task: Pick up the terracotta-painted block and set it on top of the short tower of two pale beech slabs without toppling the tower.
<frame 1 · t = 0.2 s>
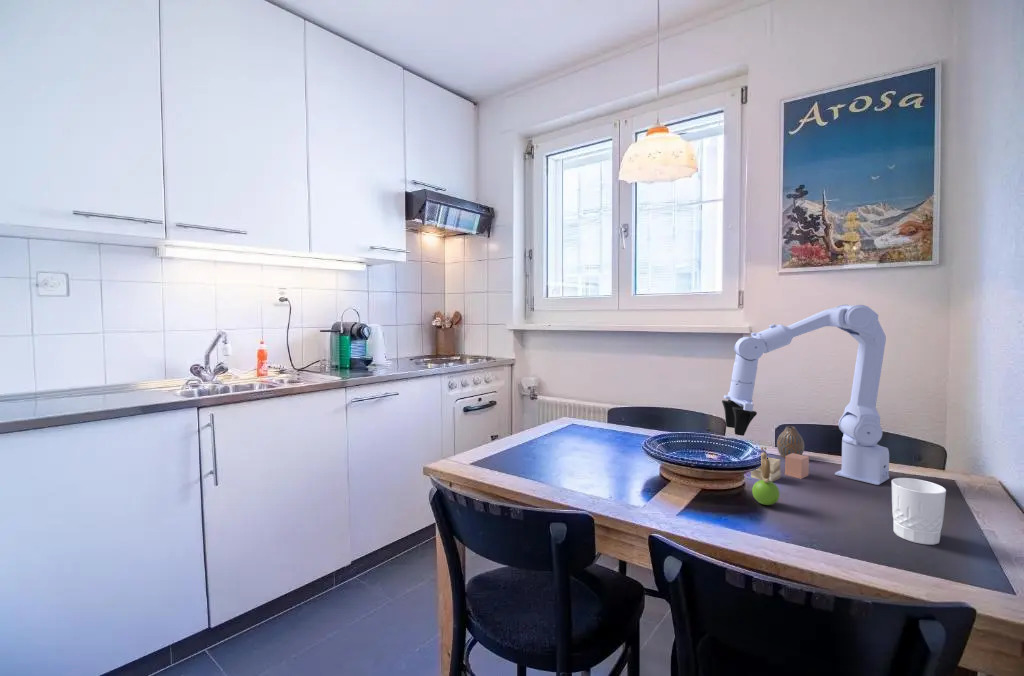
hand: (734, 430, 129), 11 cm above the table, tool pointing down, fingers open, 7 cm apart
tower base: (765, 478, 123), on the table, touching tower top
vase: (790, 457, 139), on the table
block: (796, 475, 124), on the table
snail figurine: (765, 504, 107), on the table
white cup: (916, 537, 91), on the table
tower top: (766, 469, 123), point 2 cm above the table, touching tower base
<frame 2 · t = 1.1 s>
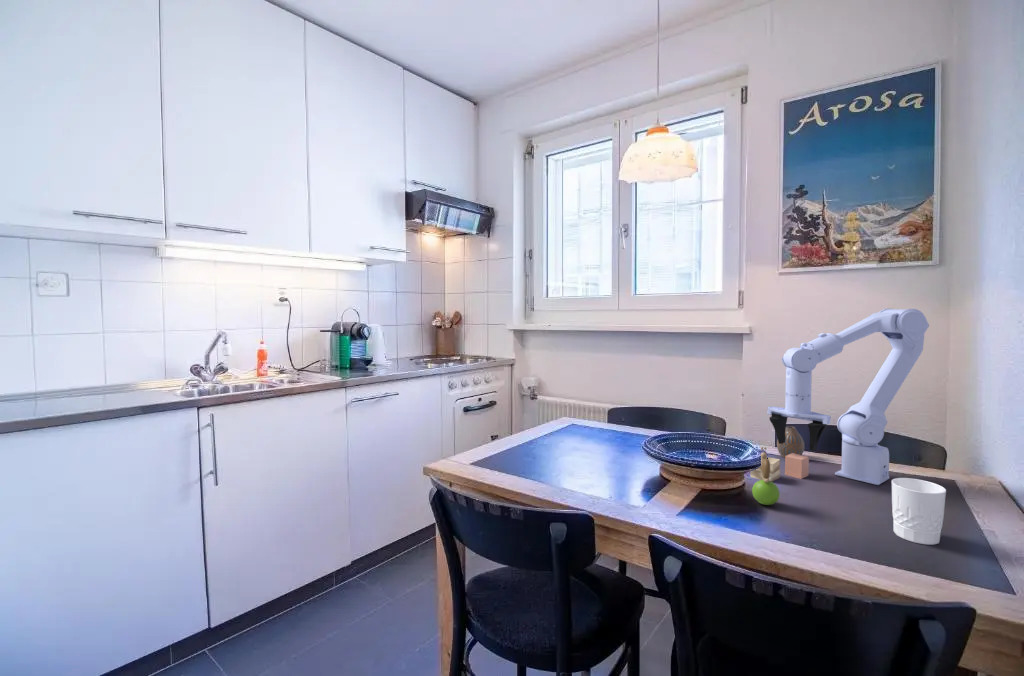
hand: (797, 446, 124), 8 cm above the table, tool pointing down, fingers open, 7 cm apart
tower base: (765, 478, 123), on the table
tower top: (765, 469, 123), point 2 cm above the table
everything else where it was.
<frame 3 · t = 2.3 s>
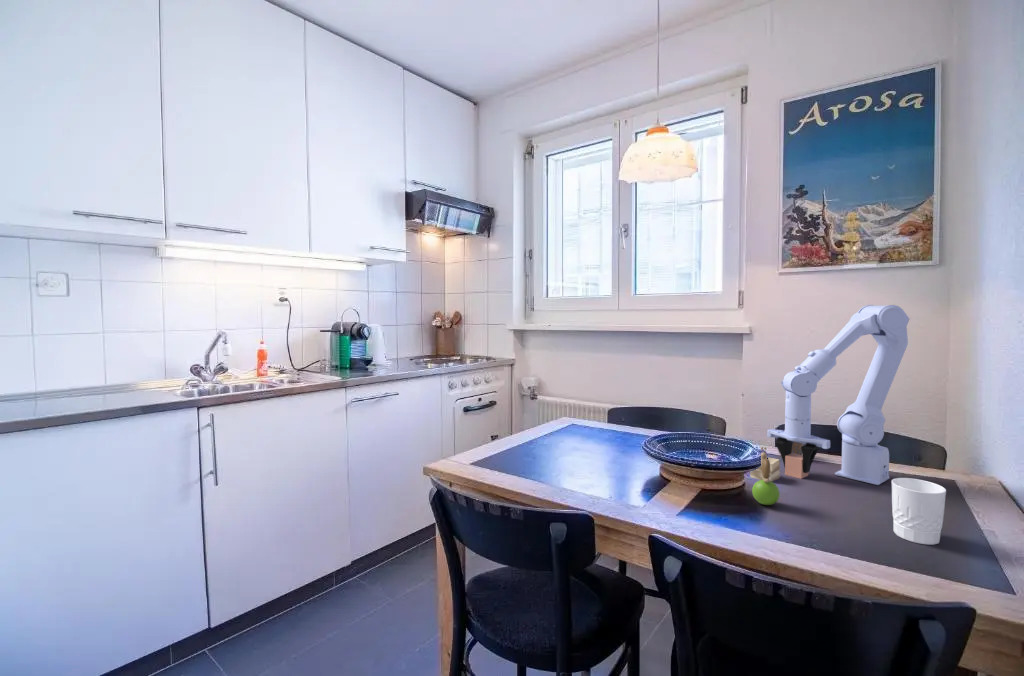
hand: (796, 469, 124), 1 cm above the table, tool pointing down, fingers closed on block, 4 cm apart
tower base: (764, 478, 123), on the table, touching tower top
block: (796, 474, 124), on the table, touching gripper
tower top: (765, 469, 123), point 2 cm above the table, touching tower base
everything else where it was.
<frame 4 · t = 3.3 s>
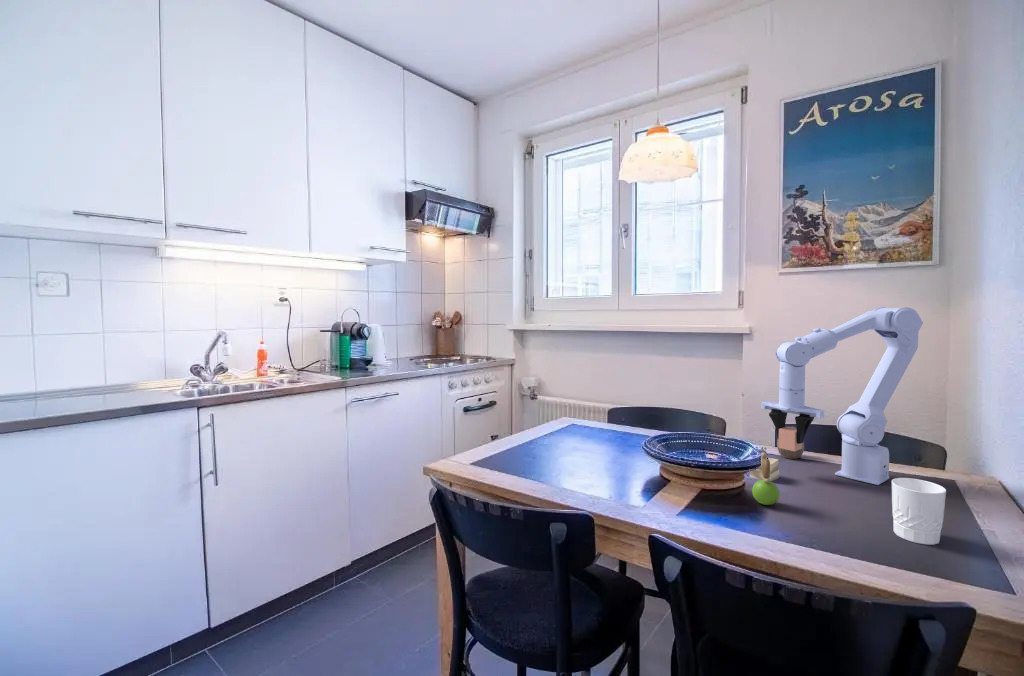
hand: (790, 440, 124), 9 cm above the table, tool pointing down, fingers closed on block, 4 cm apart
block: (790, 448, 124), point 7 cm above the table, touching gripper
everything else where it was.
when the fingers open (7 cm above the table, at t = 4.4 s): block stays where it is, resting on tower top.
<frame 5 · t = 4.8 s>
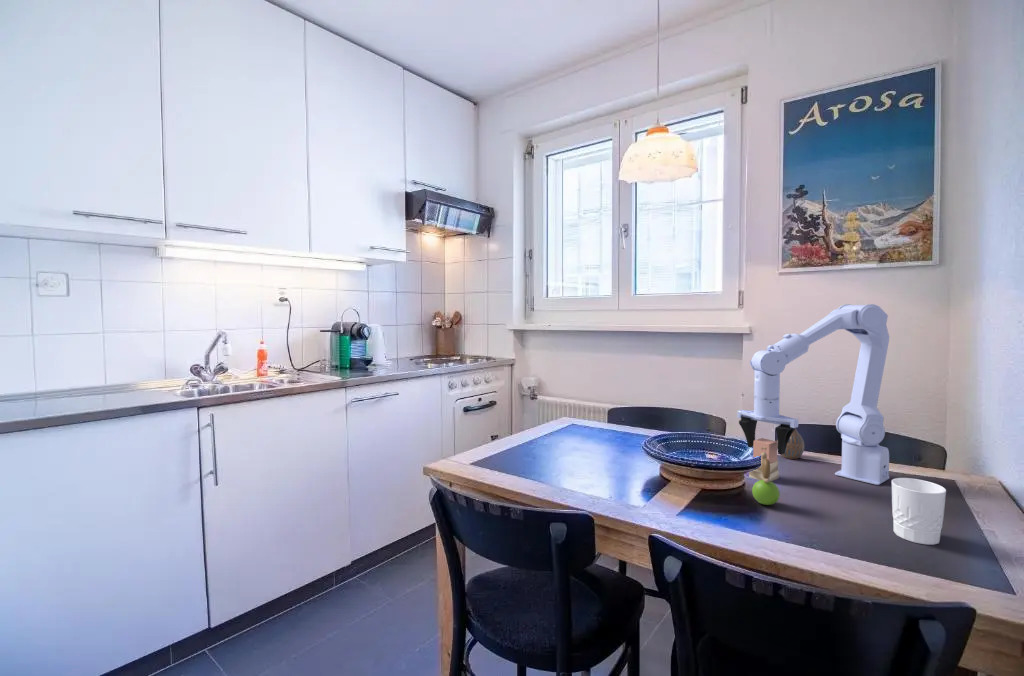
hand: (765, 450, 123), 7 cm above the table, tool pointing down, fingers open, 7 cm apart
block: (765, 460, 123), point 5 cm above the table, touching tower top
tower top: (763, 469, 123), point 2 cm above the table, touching block, tower base
everything else where it was.
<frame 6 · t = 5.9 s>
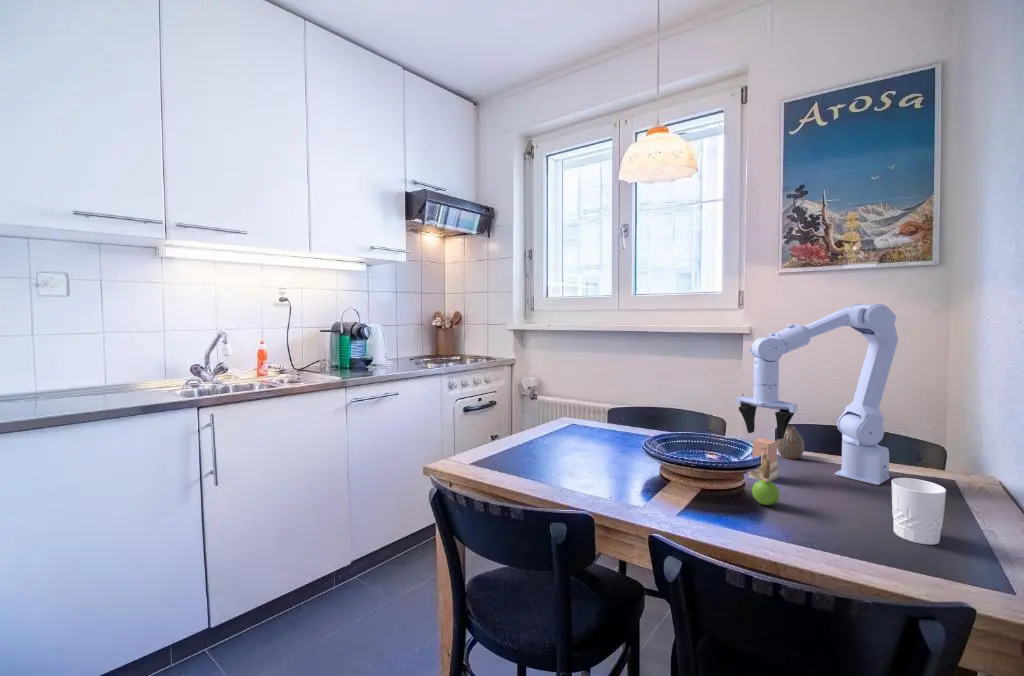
hand: (765, 435, 125), 10 cm above the table, tool pointing down, fingers open, 7 cm apart
nothing on the table moved.
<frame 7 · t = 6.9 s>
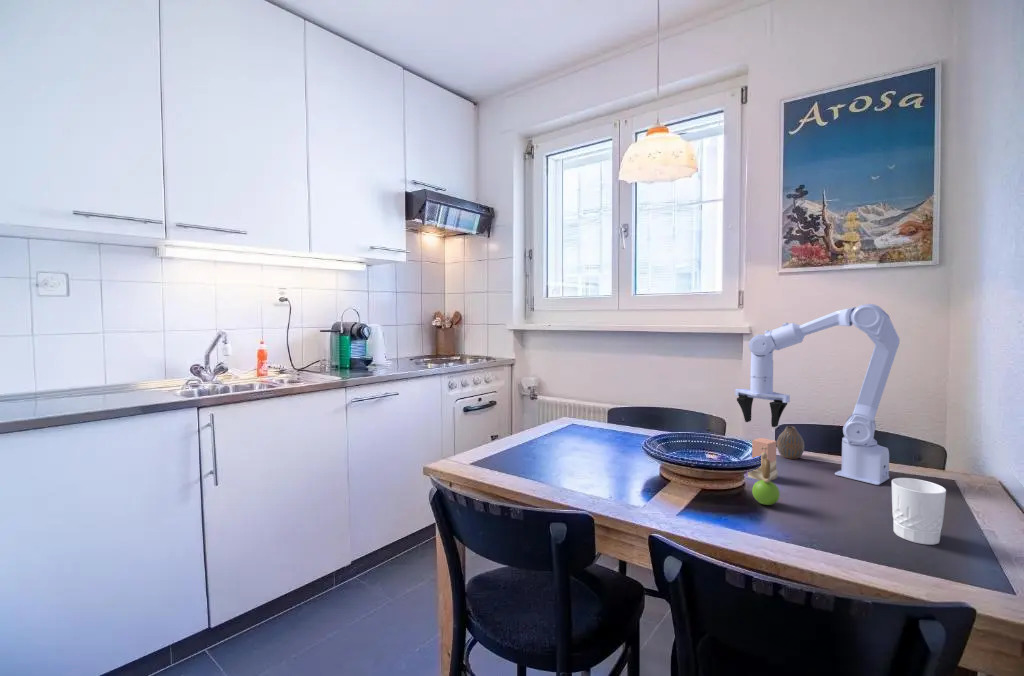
hand: (761, 423, 136), 10 cm above the table, tool pointing down, fingers open, 7 cm apart
block: (764, 459, 123), point 5 cm above the table
tower top: (762, 469, 123), point 2 cm above the table, touching tower base
everything else where it was.
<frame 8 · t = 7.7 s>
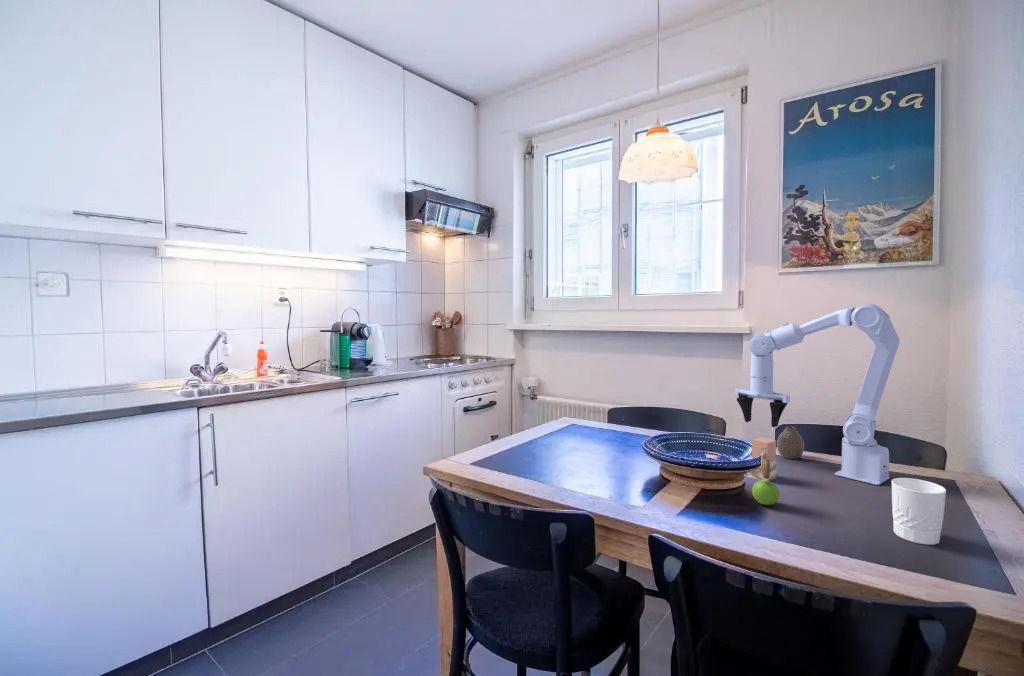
hand: (761, 423, 136), 10 cm above the table, tool pointing down, fingers open, 7 cm apart
block: (763, 459, 123), point 5 cm above the table, touching tower top
tower top: (761, 468, 123), point 2 cm above the table, touching block, tower base
everything else where it was.
at the end: block 0.4 cm off-centre on the tower top, point 2.5 cm above the tower top's base; tower top tilted 0°; block tilted 0° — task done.
